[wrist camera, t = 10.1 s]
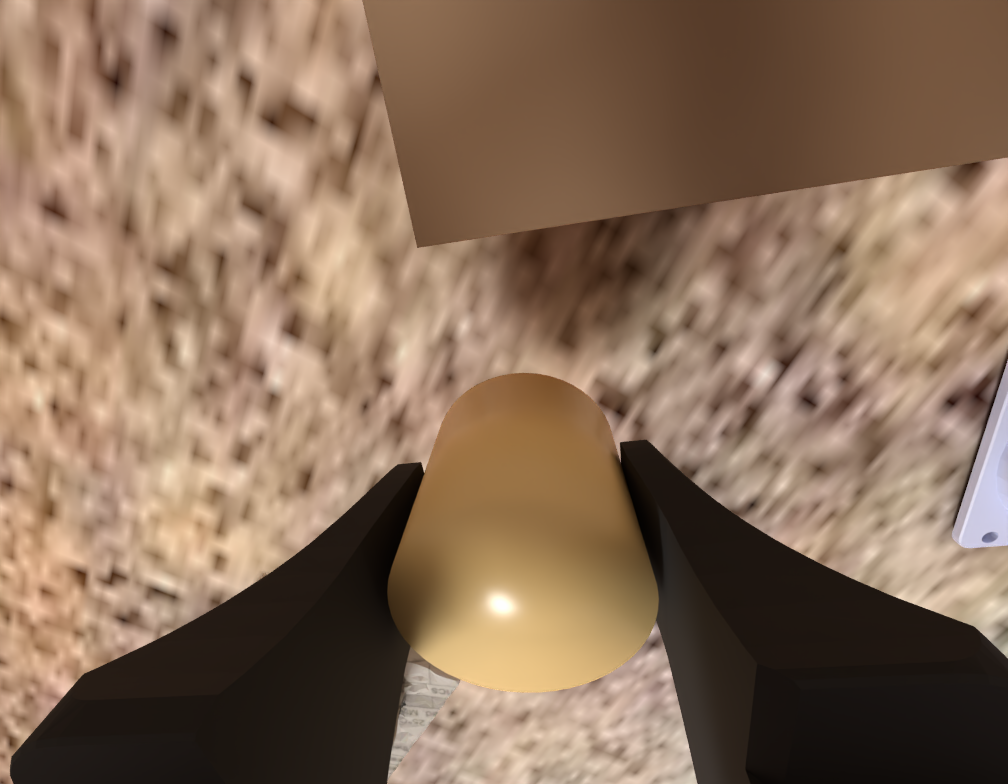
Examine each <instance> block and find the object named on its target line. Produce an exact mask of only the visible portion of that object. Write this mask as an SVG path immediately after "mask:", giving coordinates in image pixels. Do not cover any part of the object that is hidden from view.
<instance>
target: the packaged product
mask: <svg viewBox="0 0 1008 784" xmlns="http://www.w3.org/2000/svg"><path fill="white" fill-rule="evenodd" d="M459 682H460V679H458V678H456V677H454V676H451V675H449V674H447V673H445V672H444V671H442V670H440V669H438V668H437V667H435V666H433V665H432V664H431V663H429V662H428V661H426V660H425V659H424V658H422V657H421V656H420V655H419V654H418V653H417V652H416V651H415V650H414V649H413V648H412V647H410V650H409V655H408V659H407V663H406V668H405V673H404V678H403V684H402V690H401V696H400V701H399V707H398V713H397V719H396V726H395V732H394V739H393V745H392V752H391V758H390V765H389V772H388V779H389V777H390V776H391V774H392V773H393V772H394V771H395V769H396V768H397V767H398V765H399V764H400V762H401V761H402V760H403V758H404V757H405V755H406V754H407V753H408V752H409V750H410V749H411V747H412V745H413V743H414V742H415V741H416V740H417V739H418V738H419V737H420V736H421V735H422V733H423V732H424V731H425V729H426V728H427V727H428V725H429V724H430V722H431V721H432V720H433V718H434V717H435V716H436V714H437V713H438V711H439V710H440V709H441V707H442V706H443V705H444V703H445V701H446V700H447V699H448V697H449V696H450V694H451V693H452V692H453V691H454V690H455V689H456V688H457V686H458V685H459ZM387 781H388V780H387Z"/></svg>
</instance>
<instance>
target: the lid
mask: <svg viewBox="0 0 1008 784" xmlns="http://www.w3.org/2000/svg"><path fill="white" fill-rule="evenodd" d="M363 5H364V9H365V14H366V18H367V23H368V27H369V32H370V36H371V41H372V45H373V50H374V54H375V59H376V63H377V68H378V72H379V77H380V81H381V86H382V90H383V95H384V100H385V104H386V109H387V113H388V118H389V122H390V127H391V131H392V136H393V140H394V145H395V149H396V154H397V158H398V163H399V167H400V172H401V176H402V181H403V185H404V190H405V194H406V199H407V203H408V208H409V212H410V217H411V221H412V226H413V230H414V235H415V239H416V244H417V248H419V247H425V246H432V245H438V244H445V243H451V242H458V241H464V240H471V239H477V238H484V237H491V236H497V235H504V234H510V233H517V232H523V231H530V230H536V229H543V228H549V227H556V226H562V225H569V224H575V223H582V222H589V221H595V220H602V219H608V218H615V217H621V216H628V215H634V214H641V213H647V212H654V211H660V210H667V209H674V208H680V207H687V206H693V205H700V204H706V203H713V202H719V201H726V200H732V199H739V198H745V197H752V196H759V195H765V194H772V193H778V192H785V191H791V190H798V189H804V188H811V187H817V186H824V185H830V184H837V183H843V182H850V181H857V180H863V179H870V178H876V177H883V176H889V175H896V174H902V173H909V172H915V171H922V170H928V169H935V168H942V167H948V166H955V165H961V164H968V163H974V162H981V161H987V160H994V159H1000V158H1007V157H1008V0H363Z"/></svg>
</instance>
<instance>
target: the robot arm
mask: <svg viewBox="0 0 1008 784" xmlns="http://www.w3.org/2000/svg"><path fill="white" fill-rule="evenodd" d="M620 451H621V466H622V469H623V472H624V476H625V479H626V482H627V486H628V489H629V493H630V496H631V499H632V503H633V506H634V509H635V513H636V516H637V519H638V523H639V526H640V529H641V533H642V536H643V539H644V543H645V546H646V549H647V553H648V556H649V560H650V563H651V566H652V570H653V573H654V576H655V580H656V583H657V587H658V596H659V603H658V613H657V617H656V621H657V624H658V627H659V629H660V632H661V635H662V639H663V642H664V645H665V649H666V652H667V655H668V659H669V663H670V667H671V672H672V676H673V680H674V684H675V688H676V692H677V696H678V701H679V705H680V709H681V713H682V718H683V722H684V726H685V731H686V735H687V739H688V743H689V748H690V752H691V756H692V761H693V765H694V770H695V774H696V779H697V783H698V784H1008V659H1007V657H1006V656H1005V655H1004V654H1002V653H1001V652H1000V651H999V650H998V649H997V648H996V647H995V646H994V645H993V644H992V643H991V642H990V641H989V640H988V639H987V638H986V637H985V636H984V635H983V634H982V633H981V632H979V631H978V630H977V629H976V628H975V627H974V626H971V625H968V624H966V623H963V622H960V621H958V620H955V619H952V618H949V617H947V616H944V615H941V614H939V613H936V612H933V611H931V610H928V609H925V608H923V607H920V606H917V605H914V604H912V603H909V602H906V601H904V600H901V599H898V598H896V597H893V596H891V595H888V594H886V593H884V592H881V591H879V590H877V589H875V588H872V587H870V586H868V585H865V584H863V583H861V582H858V581H856V580H854V579H852V578H849V577H847V576H845V575H843V574H841V573H839V572H836V571H834V570H832V569H830V568H828V567H826V566H824V565H822V564H820V563H818V562H816V561H814V560H812V559H810V558H808V557H806V556H804V555H803V554H801V553H799V552H797V551H795V550H793V549H791V548H789V547H787V546H786V545H784V544H782V543H780V542H778V541H777V540H775V539H773V538H771V537H770V536H768V535H767V534H765V533H763V532H762V531H760V530H758V529H757V528H755V527H754V526H752V525H750V524H749V523H747V522H746V521H744V520H743V519H741V518H740V517H738V516H737V515H735V514H734V513H732V512H731V511H729V510H728V509H727V508H725V507H724V506H723V505H721V504H720V503H718V502H717V501H716V500H714V499H713V498H712V497H711V496H709V495H708V494H707V493H706V492H704V491H703V490H702V489H701V488H699V487H698V486H697V485H696V484H695V483H694V482H692V481H691V480H690V479H689V478H688V477H686V476H685V475H684V474H683V473H682V472H681V471H680V470H678V469H677V468H676V467H675V466H674V465H673V464H672V463H671V462H670V461H669V460H668V459H667V458H665V457H664V456H663V455H662V454H661V453H660V452H659V451H658V450H657V449H656V448H655V447H654V446H653V445H652V444H651V443H650V442H648V441H647V440H639V441H629V442H620ZM423 476H424V471H423V467H422V463H421V462H418V463H408V464H398V465H397V466H395V467H394V468H393V469H392V470H391V471H389V472H388V473H387V474H386V475H385V476H384V477H383V478H382V479H381V480H380V481H379V482H378V483H377V484H376V485H375V486H374V487H373V488H371V489H370V490H369V491H368V492H367V493H366V494H365V495H364V496H363V497H362V498H361V499H360V500H359V501H358V502H357V503H356V504H354V505H353V506H352V507H351V508H350V509H349V510H348V511H347V512H346V513H345V514H344V515H343V516H341V517H340V518H339V519H338V520H337V521H336V522H334V523H333V524H332V525H331V526H330V527H329V528H327V529H326V530H325V531H324V532H323V533H322V534H321V535H319V536H318V537H317V538H316V539H315V540H314V541H312V542H311V543H310V544H309V545H307V546H306V547H305V548H304V549H302V550H301V551H300V552H298V553H297V554H296V555H295V556H293V557H292V558H290V559H289V560H288V561H286V562H285V563H284V564H282V565H281V566H279V567H278V568H277V569H275V570H274V571H273V572H271V573H270V574H268V575H267V576H265V577H264V578H262V579H261V580H259V581H257V582H256V583H254V584H253V585H251V586H250V587H248V588H246V589H245V590H243V591H242V592H240V593H239V594H237V595H235V596H234V597H232V598H231V599H229V600H228V601H226V602H224V603H223V604H221V605H219V606H218V607H216V608H214V609H213V610H211V611H209V612H207V613H206V614H204V615H202V616H200V617H199V618H197V619H195V620H193V621H191V622H189V623H188V624H186V625H184V626H182V627H180V628H178V629H176V630H175V631H173V632H171V633H169V634H167V635H165V636H163V637H161V638H159V639H157V640H155V641H153V642H151V643H149V644H147V645H145V646H143V647H141V648H139V649H137V650H134V651H132V652H130V653H128V654H126V655H124V656H122V657H120V658H118V659H116V660H113V661H111V662H109V663H107V664H105V665H103V666H101V667H99V668H96V669H94V670H92V671H90V672H87V673H85V674H84V675H82V676H81V678H80V679H79V680H78V681H77V682H76V683H75V684H74V686H73V687H72V688H71V689H70V690H69V691H68V692H67V694H66V695H65V696H64V697H63V698H62V699H61V701H60V702H59V703H58V704H57V705H56V706H55V707H54V709H53V710H52V711H51V712H50V713H49V714H48V715H47V717H46V718H45V719H44V720H43V721H42V722H41V724H40V725H39V726H38V727H37V728H36V729H35V730H34V732H33V733H32V734H31V735H30V736H29V737H28V739H27V740H26V741H25V742H24V743H23V744H22V745H21V747H20V748H19V749H18V750H17V751H16V752H15V754H14V755H13V756H12V758H11V765H10V776H11V779H12V781H13V784H387V780H388V772H389V765H390V758H391V752H392V745H393V739H394V732H395V726H396V719H397V713H398V707H399V701H400V696H401V690H402V684H403V678H404V673H405V668H406V663H407V659H408V655H409V650H410V647H411V646H410V645H409V644H408V643H407V641H406V640H405V639H404V638H403V636H402V635H401V633H400V632H399V630H398V629H397V627H396V625H395V622H394V620H393V618H392V616H391V612H390V608H389V605H388V595H387V588H388V578H389V575H390V571H391V568H392V565H393V562H394V559H395V556H396V553H397V550H398V548H399V545H400V542H401V539H402V536H403V533H404V530H405V528H406V525H407V522H408V519H409V516H410V513H411V510H412V507H413V505H414V502H415V499H416V496H417V493H418V490H419V487H420V485H421V482H422V479H423ZM952 538H953V539H954V540H955V541H956V542H957V543H958V544H959V545H960V546H962V547H965V548H978V547H991V546H1005V545H1008V361H1007V364H1006V367H1005V370H1004V373H1003V377H1002V380H1001V383H1000V386H999V389H998V392H997V395H996V398H995V401H994V405H993V408H992V411H991V414H990V417H989V420H988V423H987V426H986V429H985V432H984V436H983V439H982V442H981V445H980V448H979V451H978V454H977V457H976V460H975V464H974V467H973V470H972V473H971V476H970V479H969V482H968V485H967V488H966V492H965V495H964V498H963V501H962V504H961V507H960V510H959V513H958V516H957V519H956V523H955V526H954V529H953V532H952Z"/></svg>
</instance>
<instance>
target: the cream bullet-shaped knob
mask: <svg viewBox="0 0 1008 784" xmlns="http://www.w3.org/2000/svg"><path fill="white" fill-rule="evenodd" d="M387 595H388V605H389V608H390V612H391V616H392V618H393V620H394V622H395V625H396V627H397V629H398V630H399V632H400V633H401V635H402V636H403V638H404V639H405V640H406V641H407V643H408V644H409V645H410V646H411V647H412V648H413V649H414V650H415V651H416V652H417V653H418V654H419V655H420V656H421V657H422V658H424V659H425V660H426V661H428V662H429V663H431V664H432V665H433V666H435V667H437V668H438V669H440V670H442V671H444V672H445V673H447V674H449V675H451V676H454V677H456V678H458V679H460V680H463V681H466V682H469V683H472V684H475V685H478V686H482V687H486V688H490V689H496V690H502V691H510V692H548V691H556V690H562V689H568V688H572V687H576V686H579V685H583V684H586V683H588V682H591V681H594V680H596V679H599V678H601V677H603V676H605V675H607V674H609V673H611V672H612V671H614V670H615V669H617V668H618V667H620V666H622V665H623V664H624V663H625V662H627V661H628V660H629V659H630V658H631V657H633V656H634V655H635V653H636V652H637V651H638V650H639V649H640V648H641V647H642V646H643V644H644V643H645V641H646V640H647V638H648V637H649V635H650V633H651V631H652V629H653V626H654V624H655V621H656V617H657V613H658V603H659V596H658V587H657V583H656V580H655V576H654V573H653V570H652V566H651V563H650V560H649V556H648V553H647V549H646V546H645V543H644V539H643V536H642V533H641V529H640V526H639V523H638V519H637V516H636V513H635V509H634V506H633V503H632V499H631V496H630V493H629V489H628V486H627V482H626V479H625V476H624V472H623V469H622V466H621V462H620V459H619V456H618V452H617V449H616V446H615V442H614V439H613V435H612V432H611V429H610V426H609V423H608V421H607V419H606V417H605V415H604V414H603V412H602V411H601V409H600V408H599V406H598V405H597V404H596V403H595V402H594V401H593V400H592V399H591V398H590V397H589V396H588V395H586V394H585V393H584V392H583V391H581V390H580V389H578V388H577V387H575V386H573V385H572V384H569V383H567V382H565V381H563V380H560V379H557V378H554V377H551V376H547V375H541V374H533V373H515V374H508V375H502V376H498V377H495V378H492V379H488V380H486V381H484V382H482V383H480V384H477V385H476V386H474V387H473V388H471V389H470V390H468V391H467V392H465V393H464V394H463V395H462V396H461V397H460V398H459V399H458V400H457V401H456V402H455V403H454V404H453V405H452V406H451V408H450V409H449V411H448V412H447V414H446V416H445V418H444V420H443V422H442V424H441V427H440V430H439V433H438V436H437V439H436V442H435V444H434V447H433V450H432V453H431V456H430V459H429V462H428V464H427V467H426V470H425V473H424V476H423V479H422V482H421V485H420V487H419V490H418V493H417V496H416V499H415V502H414V505H413V507H412V510H411V513H410V516H409V519H408V522H407V525H406V528H405V530H404V533H403V536H402V539H401V542H400V545H399V548H398V550H397V553H396V556H395V559H394V562H393V565H392V568H391V571H390V575H389V578H388V588H387Z"/></svg>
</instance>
